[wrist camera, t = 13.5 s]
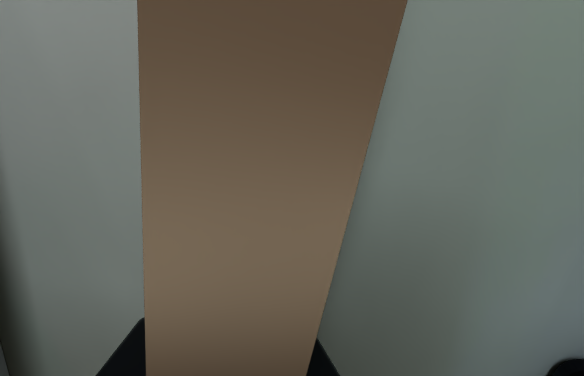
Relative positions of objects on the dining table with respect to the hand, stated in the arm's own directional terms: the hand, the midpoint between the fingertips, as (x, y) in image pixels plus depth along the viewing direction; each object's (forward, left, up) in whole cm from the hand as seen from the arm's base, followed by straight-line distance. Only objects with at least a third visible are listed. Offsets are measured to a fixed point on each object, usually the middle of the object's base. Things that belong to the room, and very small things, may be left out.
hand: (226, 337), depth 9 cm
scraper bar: (0, 0, -2) cm, 2 cm away
